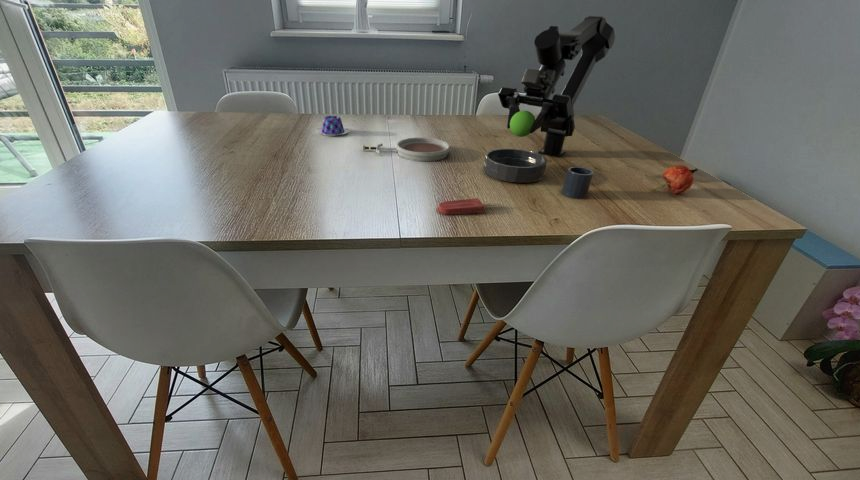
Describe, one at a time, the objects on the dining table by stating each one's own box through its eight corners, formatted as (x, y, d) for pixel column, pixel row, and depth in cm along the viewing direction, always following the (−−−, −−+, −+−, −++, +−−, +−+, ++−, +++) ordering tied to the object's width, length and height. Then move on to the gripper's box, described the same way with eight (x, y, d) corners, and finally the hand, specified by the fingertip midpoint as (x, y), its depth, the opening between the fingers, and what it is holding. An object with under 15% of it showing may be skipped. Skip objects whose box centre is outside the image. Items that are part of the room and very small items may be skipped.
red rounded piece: (660, 205, 102) (707, 187, 97) (649, 179, 101) (696, 159, 96) (656, 198, 108) (700, 180, 103) (645, 173, 107) (689, 154, 102)
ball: (522, 132, 111) (527, 107, 107) (537, 138, 106) (543, 112, 103) (503, 134, 109) (507, 108, 106) (517, 140, 104) (522, 114, 101)
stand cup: (565, 187, 105) (572, 165, 102) (589, 193, 103) (596, 170, 99) (558, 194, 102) (564, 171, 98) (582, 200, 99) (589, 176, 95)
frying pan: (364, 135, 134) (449, 137, 132) (364, 144, 136) (448, 146, 134) (356, 151, 120) (452, 153, 118) (357, 161, 122) (451, 163, 120)
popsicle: (506, 204, 92) (442, 209, 90) (504, 211, 93) (441, 216, 90) (497, 196, 95) (436, 201, 93) (496, 203, 96) (435, 208, 94)
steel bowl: (498, 160, 123) (500, 145, 120) (551, 172, 115) (555, 156, 112) (473, 174, 112) (475, 158, 110) (529, 189, 104) (533, 172, 102)
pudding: (348, 137, 140) (347, 121, 137) (313, 136, 140) (312, 121, 137) (351, 128, 150) (350, 113, 147) (318, 127, 150) (317, 112, 147)
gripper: (508, 52, 105) (479, 104, 104) (580, 58, 95) (549, 116, 94) (516, 82, 114) (490, 130, 113) (583, 91, 104) (555, 144, 103)
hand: (519, 130), depth 106 cm, fingers closed on ball, 6 cm apart
